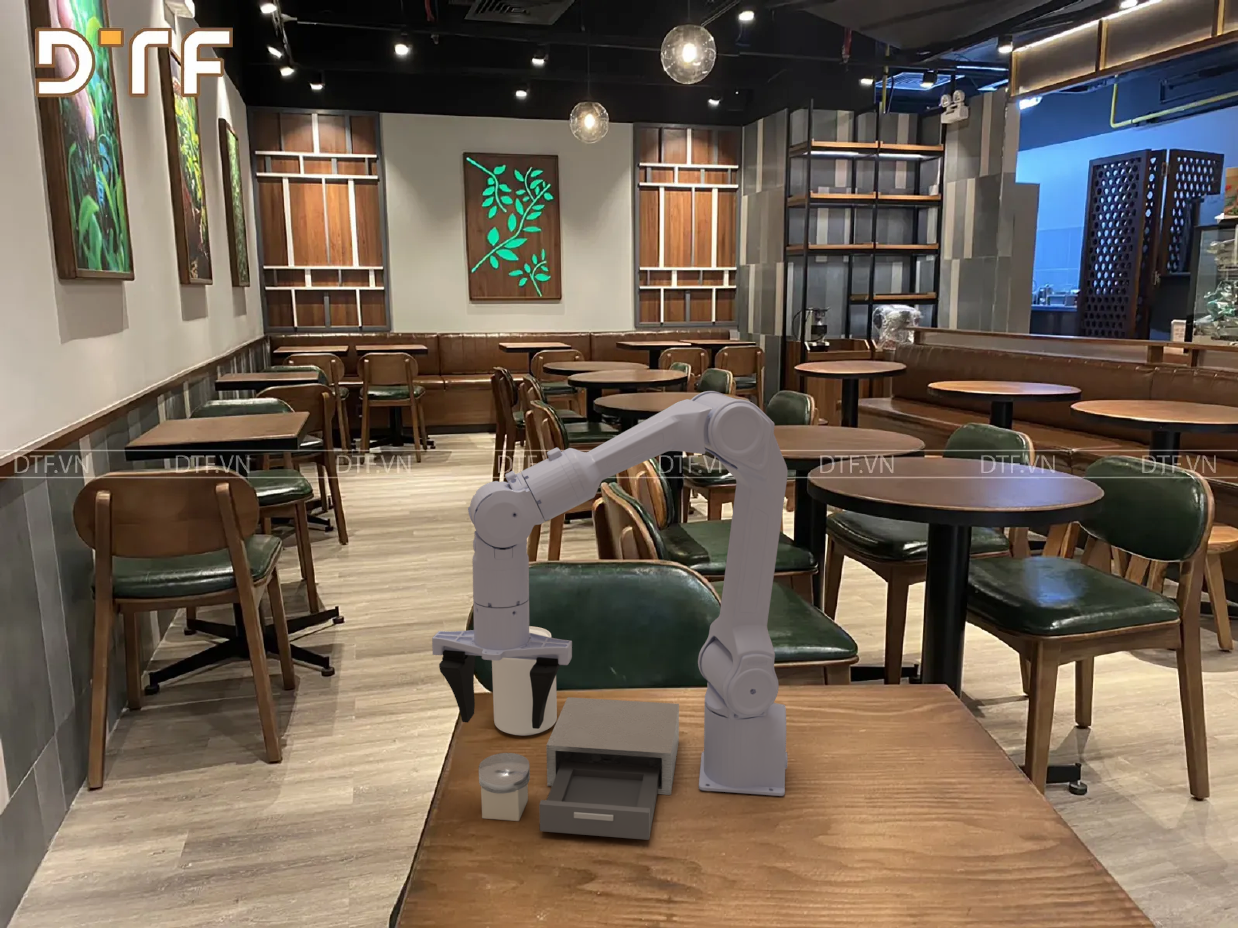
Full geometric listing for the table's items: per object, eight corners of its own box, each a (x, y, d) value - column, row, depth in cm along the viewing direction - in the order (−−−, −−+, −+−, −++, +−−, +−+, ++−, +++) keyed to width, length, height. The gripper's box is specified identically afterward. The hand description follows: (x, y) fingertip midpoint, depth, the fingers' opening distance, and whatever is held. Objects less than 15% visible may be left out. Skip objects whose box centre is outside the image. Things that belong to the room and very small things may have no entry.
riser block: (528, 799, 96) (527, 770, 95) (518, 821, 92) (518, 790, 91) (492, 797, 97) (491, 768, 96) (482, 818, 93) (481, 788, 92)
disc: (535, 768, 96) (534, 754, 96) (522, 795, 91) (522, 781, 90) (487, 764, 97) (486, 751, 96) (472, 791, 91) (472, 777, 91)
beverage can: (561, 710, 117) (560, 625, 114) (551, 740, 109) (549, 650, 107) (502, 708, 118) (499, 623, 115) (487, 738, 110) (484, 647, 107)
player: (678, 741, 108) (679, 703, 108) (670, 794, 97) (671, 753, 96) (568, 734, 110) (567, 697, 109) (547, 785, 99) (546, 745, 98)
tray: (659, 779, 98) (659, 755, 98) (648, 841, 87) (648, 814, 87) (562, 772, 100) (561, 748, 99) (539, 832, 89) (538, 805, 88)
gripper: (419, 607, 87) (423, 733, 90) (561, 617, 85) (561, 745, 88) (444, 585, 94) (447, 702, 97) (576, 593, 92) (575, 713, 94)
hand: (502, 721), depth 93 cm, fingers open, 7 cm apart
